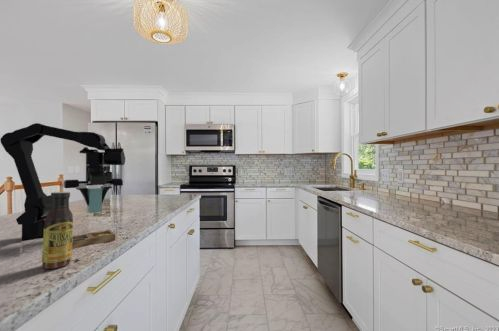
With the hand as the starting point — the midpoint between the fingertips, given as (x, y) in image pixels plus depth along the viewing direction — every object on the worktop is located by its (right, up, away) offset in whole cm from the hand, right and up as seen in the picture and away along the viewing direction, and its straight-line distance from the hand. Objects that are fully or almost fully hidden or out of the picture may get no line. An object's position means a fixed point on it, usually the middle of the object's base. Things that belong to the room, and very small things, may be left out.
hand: (94, 204), depth 90 cm
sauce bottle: (+9, -12, -28) cm, 31 cm away
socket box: (+5, -12, -9) cm, 16 cm away
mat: (0, -12, 0) cm, 12 cm away
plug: (0, -3, 0) cm, 3 cm away
